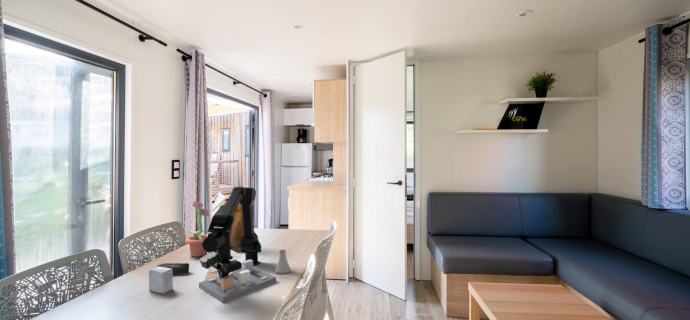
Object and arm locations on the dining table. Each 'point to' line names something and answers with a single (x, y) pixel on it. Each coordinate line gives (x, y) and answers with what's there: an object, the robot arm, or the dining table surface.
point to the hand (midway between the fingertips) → (222, 283)
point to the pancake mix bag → (237, 229)
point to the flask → (282, 263)
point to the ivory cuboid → (244, 277)
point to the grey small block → (247, 265)
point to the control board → (237, 285)
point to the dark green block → (176, 267)
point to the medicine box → (160, 280)
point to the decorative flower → (197, 240)
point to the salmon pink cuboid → (226, 283)
